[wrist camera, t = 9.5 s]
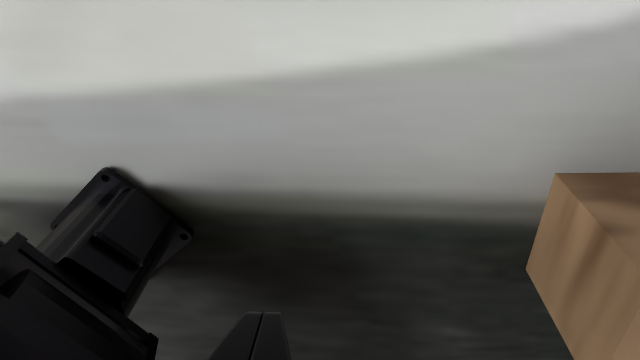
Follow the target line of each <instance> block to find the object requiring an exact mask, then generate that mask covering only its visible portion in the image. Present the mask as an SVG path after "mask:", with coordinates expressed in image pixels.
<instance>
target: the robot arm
mask: <svg viewBox="0 0 640 360" xmlns="http://www.w3.org/2000/svg"><path fill="white" fill-rule="evenodd" d="M105 175H107V176H109V178H110V179H109V178H107V177H106V176H105ZM50 226H51V229H52V230H53V231H52V232H51V233H50V234H49V235H48V236H47V237H46V238H45V239H44V240H43V241H42V242H41V243H40V244H39V245H38V246H37V247H36V248H35V247H34V246H32V245H31V244H30V243H28V242H27V240H28V239H27V238H25V237H24V236H23V235H21V234H20V233H19V232H16V233H15V234H13V235H12V236H11V237H9V238H8V239H6V240H5V241H4V242H3V241H2V240H0V360H155V355H156V350H157V345H158V338H157V337H156V336H154V335H153V334H152V333H147V332H146V331H145V330H143V329H142V328H141V327H139V326H138V325H137V324H135V323H134V322H133V321H132V320H130V319H129V318H128V316H129V314H130V312H131V311H132V309H133V307H134V305H135V304H136V302H137V300H138V298H139V297H140V295H141V293H142V291H143V290H144V288H145V286H146V284H147V283H148V281H149V279H150V277H151V276H152V274H153V272H154V271H155V270H156V269H157V268H158V267H160V266H161V265H162V264H163V263H165V262H166V261H167V260H168V259H170V258H171V257H172V256H173V255H174V254H176V253H177V252H178V251H179V250H181V249H182V248H183V247H184V246H186V245H187V244H188V243H189V242H190V241H191V240H192V238H193V236H194V232H193V230H192V229H191V228H190V227H188V226H187V225H186V224H184V223H183V222H182V221H180V220H179V219H178V218H176V217H175V216H174V215H172V214H171V213H170V212H169V211H167V210H166V209H165V208H163V207H162V206H161V205H159V204H158V203H157V202H155V201H154V200H153V199H151V198H150V197H149V196H148V195H146V194H145V193H144V192H142V191H141V190H140V189H138V188H137V187H136V186H134V185H133V184H132V183H130V182H129V181H128V180H126V179H125V178H124V177H123V176H121V175H120V174H119V173H117V172H116V171H115V170H113V169H111V168H108V167H105V168H103V169H101V170H100V171H99V172H98V173H97V174H96V175H95V176H94V177H93V179H92V180H91V181H90V182H89V183H88V184H87V185H86V186H85V187H84V188H83V189H82V190H81V192H80V193H79V194H78V195H77V196H76V197H75V198H74V199H73V200H72V201H71V202H70V204H69V205H68V206H67V207H66V208H65V209H64V210H63V211H62V212H61V213H60V214H59V215H58V217H57V218H56V219H55V220H54V221H53V222H52V223H51V225H50ZM183 234H186V235H187V236H185V235H183ZM207 360H291V356H290V351H289V346H288V341H287V336H286V331H285V326H284V321H283V316H282V313H281V312H265V313H264V314H263V313H262V312H252V311H248V312H245V313H244V314H243V315H242V316H241V318H240V319H239V320H238V321H237V323H236V324H235V325H234V326H233V328H232V329H231V330H230V332H229V333H228V334H227V335H226V337H225V338H224V339H223V340H222V342H221V343H220V344H219V345H218V347H217V348H216V349H215V351H214V352H213V353H212V354H211V356H210V357H209V358H208V359H207Z"/></svg>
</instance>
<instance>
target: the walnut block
mask: <svg viewBox="0 0 640 360" xmlns="http://www.w3.org/2000/svg"><path fill="white" fill-rule="evenodd" d="M526 271H527V273H528V275H529V276H530V278H531V280H532V282H533V284H534V286H535V288H536V289H537V291H538V293H539V295H540V297H541V299H542V301H543V302H544V304H545V306H546V308H547V310H548V312H549V314H550V315H551V317H552V319H553V321H554V323H555V325H556V327H557V328H558V330H559V332H560V334H561V336H562V338H563V340H564V341H565V343H566V345H567V347H568V349H569V351H570V353H571V354H572V356H573V358H574V360H640V173H555V176H554V179H553V182H552V185H551V189H550V192H549V195H548V198H547V202H546V205H545V208H544V211H543V215H542V218H541V221H540V224H539V227H538V231H537V234H536V237H535V240H534V244H533V247H532V250H531V253H530V257H529V260H528V263H527V266H526Z"/></svg>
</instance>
